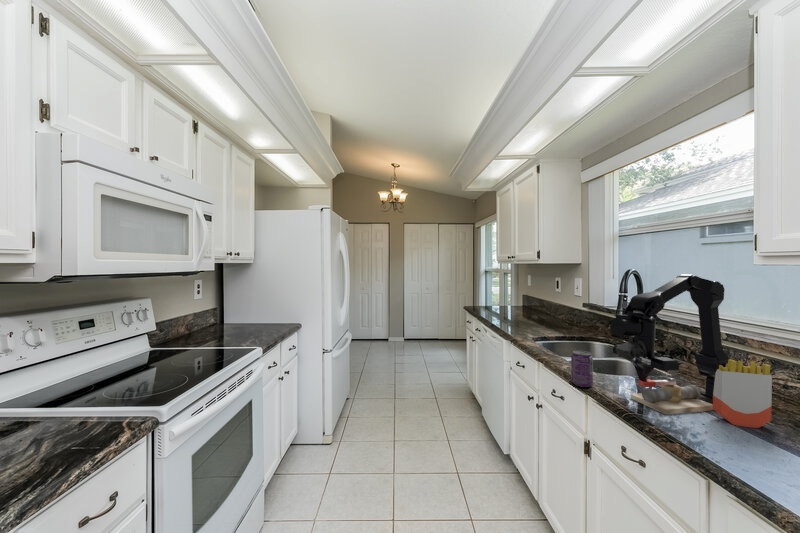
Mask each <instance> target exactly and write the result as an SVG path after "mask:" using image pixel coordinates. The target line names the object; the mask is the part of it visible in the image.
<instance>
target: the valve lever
mask: <svg viewBox="0 0 800 533" xmlns="http://www.w3.org/2000/svg"><path fill="white" fill-rule="evenodd" d="M662 385H670V386H674V385H677V380H676V378H674V377H666V379H648V378H646V379H643V380H639V379H638V386H641V387H642V388H655V387H659V386H661V387H662Z"/></svg>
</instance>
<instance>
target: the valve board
mask: <svg viewBox="0 0 800 533" xmlns="http://www.w3.org/2000/svg"><path fill="white" fill-rule="evenodd" d="M700 397H701V391H700V390H699V388H698V387H697V386H695V385H693V384H687V385H685V386H679V385H677V384H676V385H674V386H670V385H662V386H661V388H651V387H644V388H643V389H642V390H641V393H640V392H639V393H631V394H630V399H632V400H633V401H635V402H637V403H639V404H642V405H643V406H645V407H646V406H647V407H649V408H651V409H653V410H655V411H657V412H660V413H661V414H665V415H676V414H677V415H678V414H686V413H696V412H708V411H709V412H710V411H715V410H714V409H713V403H710V402H708V401H704V400H702V399H700Z"/></svg>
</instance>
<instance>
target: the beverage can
mask: <svg viewBox="0 0 800 533" xmlns="http://www.w3.org/2000/svg"><path fill="white" fill-rule="evenodd" d="M570 359H571V360H570V382H571V383H572V384H573V385H575V386H577V387H581V388H589V387H591V386H593V384H594V382H593V381H594V358H593V356H592V353H591V352H590V351H586V350H573V351H572V354H571V357H570Z"/></svg>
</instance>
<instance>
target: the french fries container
mask: <svg viewBox="0 0 800 533" xmlns="http://www.w3.org/2000/svg"><path fill="white" fill-rule="evenodd" d="M743 363H744V362H743V360H734V359H730V360H729V359H728V364H727V363H726V367H723V366H722V365H719V369H717V371H716V373H715V382H714V391H713V398H712V405H713V409H714V410H713V411H715V413H717V414H718V415H719V416H721V417H722V418H723V419H724V420H726V421H727V422H729V423H730V424H732V425H733V426H738V427H745V428H755V429H756V428H757V429H759V428H761V427H762V426H764V425H766V424H768V423H769V422H772V401H773V400H772V399H773V398H772V396H773V395H772V393H773V392H772V391H773V389H772V387H773V386H772V384H773V376H772V374H770V373H771V365H770V364H766V363H763V364H762V366H761V365H757V364H756V362H755V361H751V360H750V363H749V364H750V365H749V366H747V365H746V366H745V365H744V364H743ZM761 368H762V369H761Z"/></svg>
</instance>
